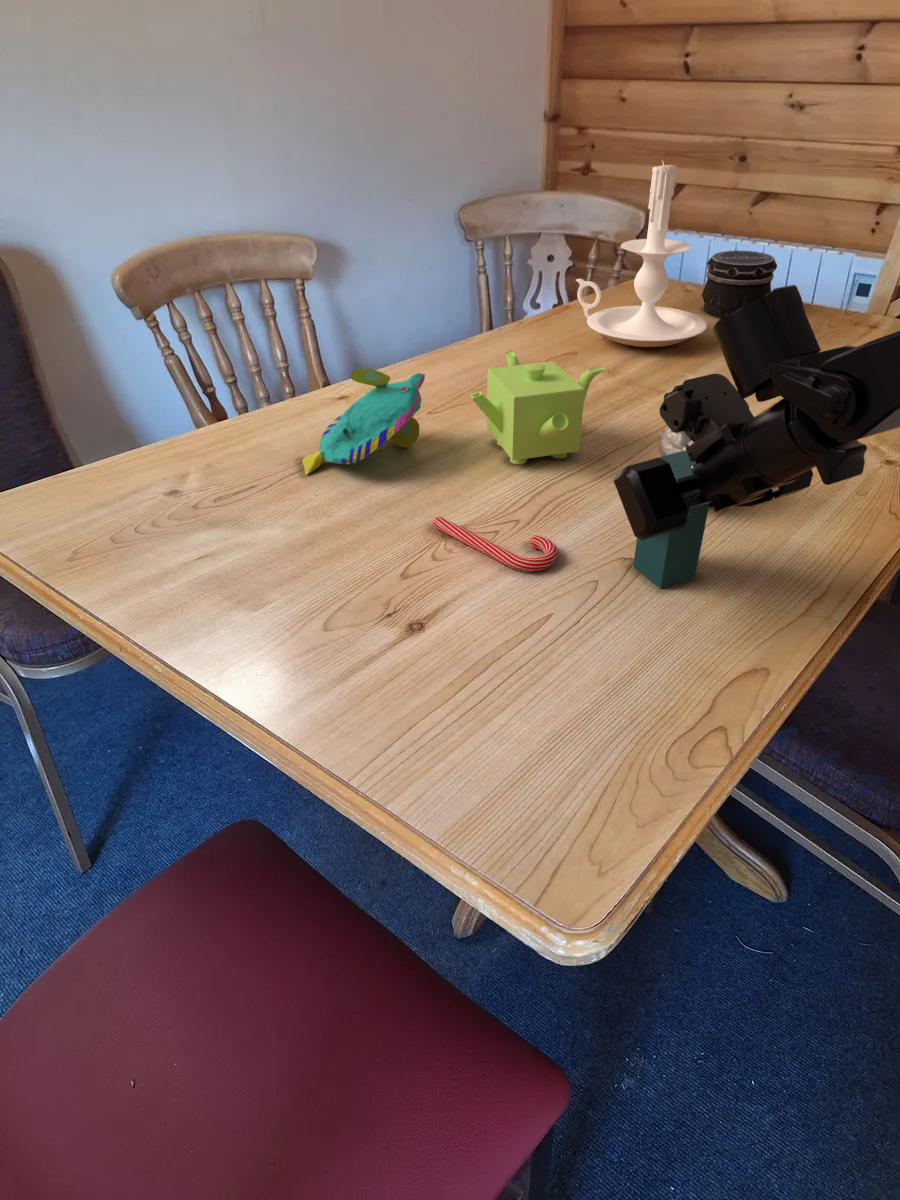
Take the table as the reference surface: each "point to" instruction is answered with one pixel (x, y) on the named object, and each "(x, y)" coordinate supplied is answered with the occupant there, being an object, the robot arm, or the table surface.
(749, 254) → the container
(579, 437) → the kettle
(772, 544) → the table surface
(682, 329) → the candlestick
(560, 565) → the table surface
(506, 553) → the candy cane
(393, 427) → the decorative fish
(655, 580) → the block
